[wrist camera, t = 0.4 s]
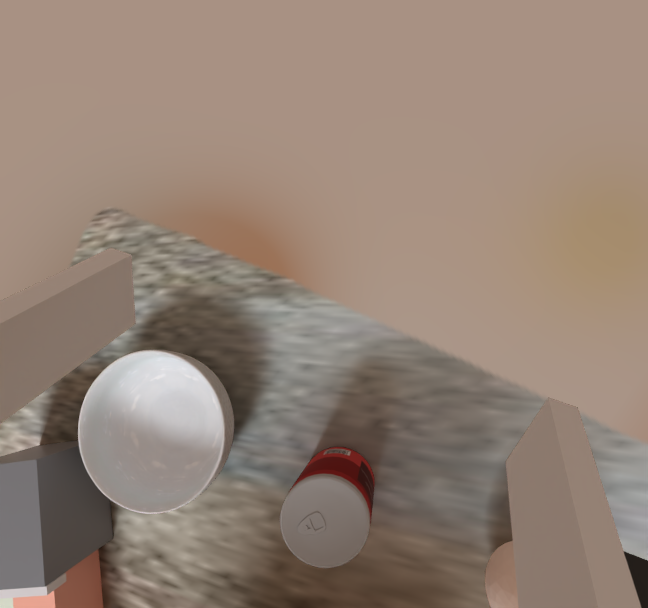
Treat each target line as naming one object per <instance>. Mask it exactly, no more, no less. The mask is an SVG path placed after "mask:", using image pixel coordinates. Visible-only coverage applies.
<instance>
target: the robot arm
mask: <svg viewBox="0 0 648 608" xmlns="http://www.w3.org/2000/svg"><path fill="white" fill-rule="evenodd" d="M135 324H136V321H135V305H134V290H133V274H132V259H131V255H130V254H128V253H125V252H122V251H119V250H116V249H113V248H110V249H107V250H105V251H103V252H101V253H99V254H97V255H95V256H93V257H91V258H89V259H87V260H84V261H82V262H80V263H78V264H76V265H74V266H72V267H70V268H68V269H66V270H64V271H62V272H60V273H57V274H55V275H53V276H51V277H49V278H47V279H45V280H43V281H41V282H39V283H36V284H34V285H32V286H30V287H28V288H26V289H24V290H22V291H20V292H18V293H16V294H13V295H11V296H9V297H7V298H5V299H3V300H1V301H0V424H1V423H2V422H3V421H5V420H6V419H7V418H9V417H10V416H12V415H13V414H14V413H16V412H17V411H18V410H20V409H21V408H22V407H24V406H25V405H26V404H28V403H29V402H30V401H32V400H33V399H35V398H36V397H37V396H39V395H40V394H41V393H43V392H44V391H45V390H47V389H48V388H49V387H51V386H52V385H53V384H55V383H56V382H57V381H59V380H60V379H62V378H63V377H64V376H66V375H67V374H68V373H70V372H71V371H72V370H74V369H75V368H76V367H78V366H79V365H80V364H82V363H83V362H85V361H86V360H87V359H89V358H90V357H91V356H93V355H94V354H95V353H97V352H98V351H99V350H101V349H102V348H103V347H105V346H106V345H108V344H109V343H110V342H112V341H113V340H114V339H116V338H117V337H118V336H120V335H121V334H122V333H124V332H125V331H126V330H128V329H129V328H130V327H132V326H133V325H135ZM506 470H507V482H508V493H509V504H510V516H511V527H512V538H513V550H514V561H515V572H516V584H517V595H518V606H519V608H648V561H647V560H644V559H642V558H639V557H637V556H634V555H632V554H629V553H626V552H624V551H623V548H622V545H621V542H620V539H619V536H618V533H617V529H616V526H615V523H614V520H613V517H612V514H611V511H610V508H609V504H608V501H607V498H606V495H605V492H604V489H603V486H602V482H601V479H600V476H599V473H598V470H597V467H596V464H595V460H594V457H593V454H592V451H591V448H590V445H589V442H588V439H587V435H586V432H585V429H584V426H583V423H582V420H581V417H580V413H579V410H578V408H577V407H575V406H572V405H569V404H566V403H563V402H560V401H557V400H554V399H551V398H548V399H547V400H546V402H545V403H544V405H543V406H542V408H541V409H540V411H539V412H538V414H537V415H536V417H535V418H534V420H533V421H532V423H531V424H530V426H529V427H528V429H527V430H526V432H525V433H524V435H523V436H522V438H521V439H520V441H519V442H518V444H517V445H516V447H515V448H514V450H513V451H512V453H511V454H510V456H509V457H508V459H507V460H506Z"/></svg>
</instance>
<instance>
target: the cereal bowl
mask: <svg viewBox="0 0 648 608" xmlns="http://www.w3.org/2000/svg"><path fill="white" fill-rule="evenodd" d="M233 433H234V416H233V409H232V405H231V401H230V399H229V396H228V394H227V391H226V390H225V388H224V386H223V384H222V383H221V381H220V380H219V378H218V377H217V376H216V375H215V373H213V371H212V370H210V369H209V368H208V367H207V366H206V365H204V364H203V363H201V362H200V361H198V360H196V359H195V358H192V357H190V356H188V355H185V354H182V353H178V352H174V351H167V350H154V349H152V350H141V351H136V352H132V353H129V354H127V355H125V356H123V357H121V358H119V359H117V360H116V361H114V362H113V363H111V364H110V365H109V366H108V367H106V368H105V369H104V370H103V371H102V372H101V373H100V374H99V376H98V377H97V378H96V379H95V380H94V382H93V383H92V385H91V386H90V388H89V390H88V392H87V394H86V396H85V398H84V401H83V404H82V407H81V411H80V415H79V422H78V442H79V449H80V453H81V457H82V460H83V463H84V466H85V468H86V470H87V472H88V474H89V476H90V477H91V479H92V480H93V482H94V483H95V485H96V486H97V487H98V489H99V490H100V491H101V492H102V493H103V494H104V495H105V496H106V497H108V498H109V499H110V500H112V501H113V502H114V503H116V504H118V505H120V506H122V507H124V508H126V509H128V510H131V511H135V512H139V513H147V514H156V513H165V512H169V511H173V510H175V509H178V508H180V507H183V506H184V505H186V504H188V503H189V502H191V501H193V500H194V499H196V498H197V497H198V496H199V495H201V494H202V493H203V492H204V491H205V490H206V489H207V488H208V487H209V486H210V485H211V484H212V482H213V481H214V480H215V479H216V477H217V476H218V475H219V474H220V471H221V470H222V468H223V466H224V465H225V462H226V460H227V458H228V455H229V453H230V451H231V446H232V442H233Z"/></svg>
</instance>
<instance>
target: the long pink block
mask: <svg viewBox="0 0 648 608" xmlns="http://www.w3.org/2000/svg"><path fill="white" fill-rule="evenodd" d="M65 573H66V582H65V583H63V584H62V585H61V586H59V587H58V588H57V589H55V590H54V591H52V592H51V593H50V594H48V595H45V596H30V597H16V598H13V608H103V597H102V585H101V573H100V561H99V550H98V549H97V550H96V551H95V552H93V553H92V554H90V555H89V556H88V557H86V558H85V559H83V560H82V561H80V562H79V563H78V564H76V565H75V566H73V567H72V568H71V569H69V570H68V571H66V572H65Z"/></svg>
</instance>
